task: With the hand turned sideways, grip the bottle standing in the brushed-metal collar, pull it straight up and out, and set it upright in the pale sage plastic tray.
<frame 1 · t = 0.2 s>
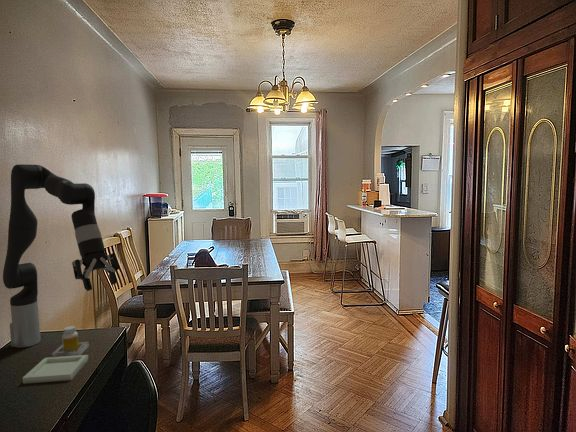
hand: (102, 287, 129), 31 cm above the table, tool tilted 20°, fingers open, 8 cm apart
supplement bottle: (71, 352, 153), resting in metal collar
metal collar: (71, 351, 153), on the table
sage tray: (57, 371, 137), on the table
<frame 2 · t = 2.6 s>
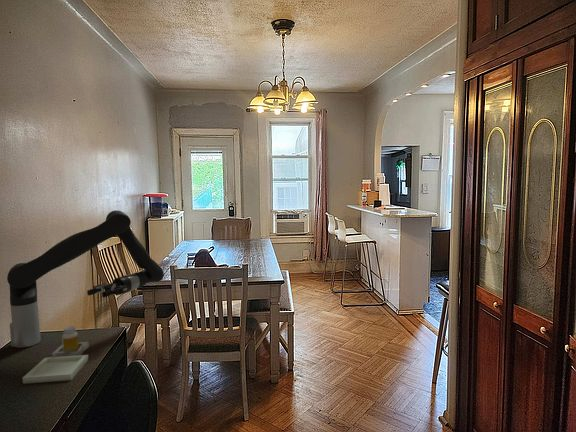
hand: (95, 294, 161), 20 cm above the table, tool horizontal, fingers open, 8 cm apart
nothing on the table moved.
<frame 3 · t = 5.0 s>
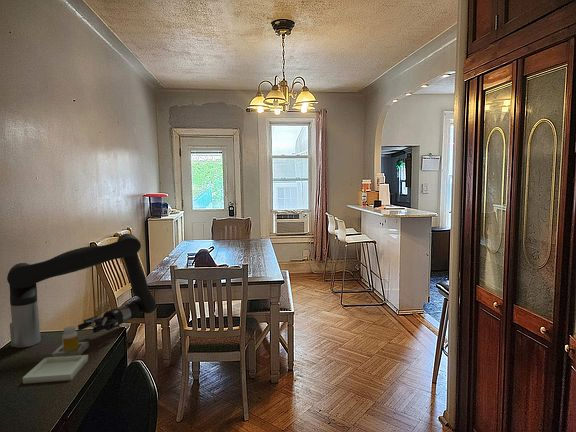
hand: (86, 329, 159), 6 cm above the table, tool horizontal, fingers open, 8 cm apart
nothing on the table moved.
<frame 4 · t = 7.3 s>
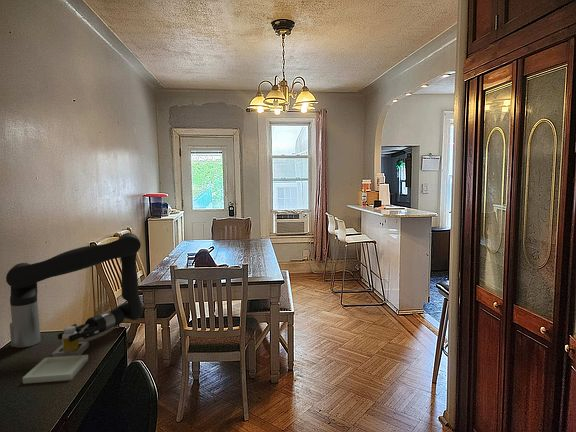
hand: (64, 338, 150), 7 cm above the table, tool horizontal, fingers closed on supplement bottle, 5 cm apart
supplement bottle: (71, 352, 153), resting in metal collar, touching gripper
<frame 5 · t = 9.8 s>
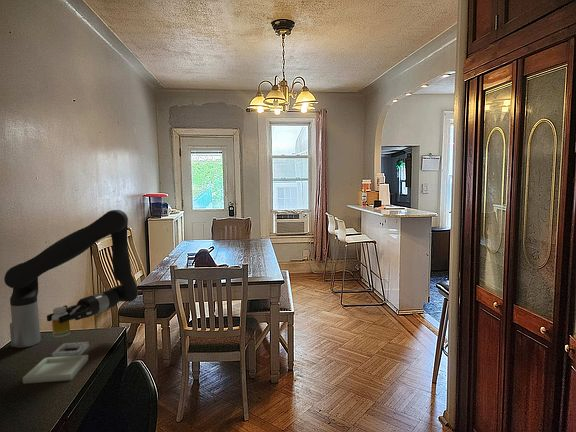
hand: (53, 319, 138), 18 cm above the table, tool horizontal, fingers closed on supplement bottle, 5 cm apart
supplement bottle: (61, 335, 141), point 11 cm above the table, touching gripper
when the fingers open (8 cm above the table, at t = 12.4 s): supplement bottle drops 1 cm, resting on sage tray.
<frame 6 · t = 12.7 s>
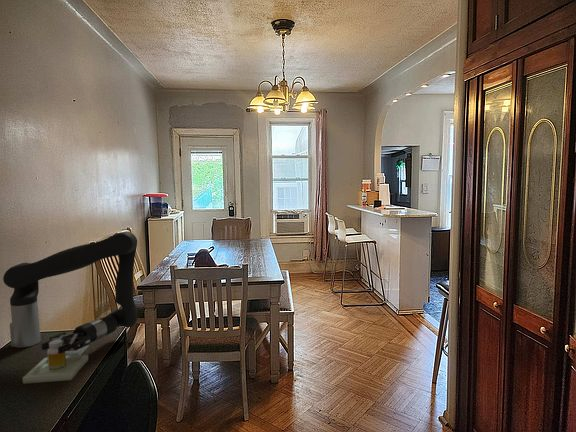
hand: (50, 349, 135), 9 cm above the table, tool horizontal, fingers open, 8 cm apart
supplement bottle: (57, 369, 138), point 1 cm above the table, touching sage tray
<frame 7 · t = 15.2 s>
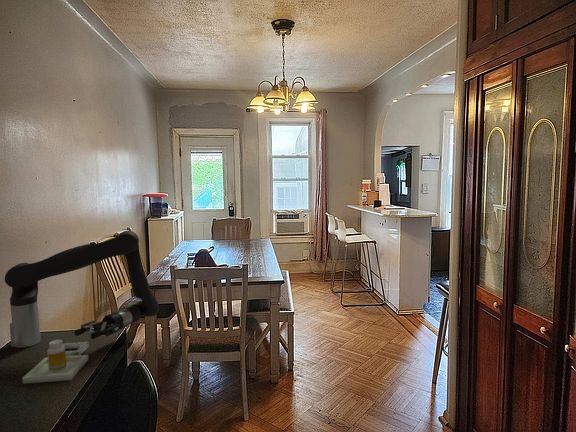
hand: (83, 335, 147), 9 cm above the table, tool horizontal, fingers open, 8 cm apart
nothing on the table moved.
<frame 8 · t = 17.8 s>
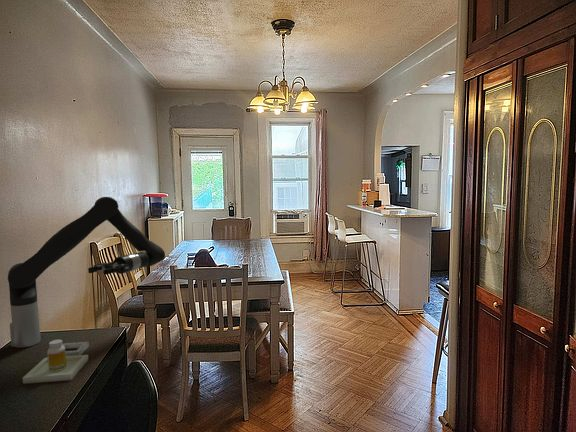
hand: (96, 271, 158), 30 cm above the table, tool horizontal, fingers open, 8 cm apart
nothing on the table moved.
at the end: supplement bottle inside the target area on the sage tray (0.2 cm from its centre), point 0.6 cm above the sage tray's base; supplement bottle tilted 0°; the gripper is holding nothing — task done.
